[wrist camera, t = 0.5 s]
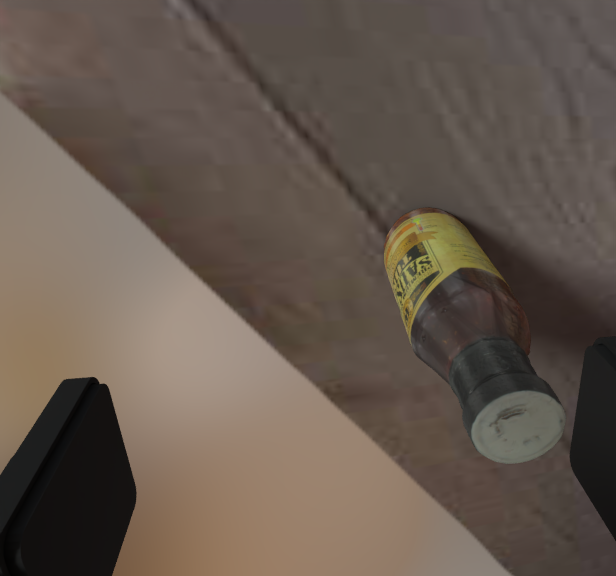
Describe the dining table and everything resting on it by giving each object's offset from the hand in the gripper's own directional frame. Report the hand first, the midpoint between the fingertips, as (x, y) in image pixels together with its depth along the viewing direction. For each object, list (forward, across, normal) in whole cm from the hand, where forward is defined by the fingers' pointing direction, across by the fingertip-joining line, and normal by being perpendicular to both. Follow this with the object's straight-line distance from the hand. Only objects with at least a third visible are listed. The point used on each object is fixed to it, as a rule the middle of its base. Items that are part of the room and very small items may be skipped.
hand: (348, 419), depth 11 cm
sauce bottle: (+30, -8, +8) cm, 32 cm away
